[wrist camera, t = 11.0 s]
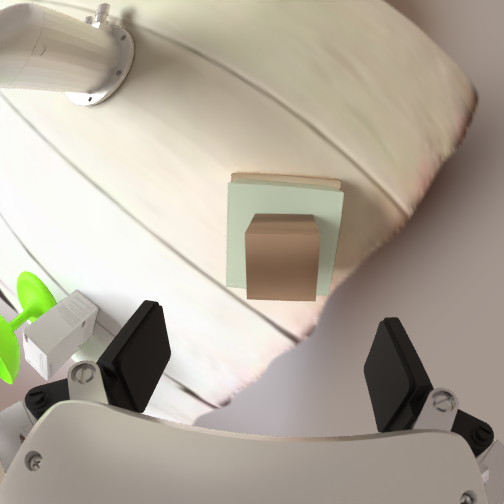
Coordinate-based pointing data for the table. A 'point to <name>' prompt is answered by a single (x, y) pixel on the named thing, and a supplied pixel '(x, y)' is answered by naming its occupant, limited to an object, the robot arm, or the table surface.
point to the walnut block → (282, 257)
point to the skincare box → (59, 333)
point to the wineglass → (22, 321)
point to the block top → (281, 202)
